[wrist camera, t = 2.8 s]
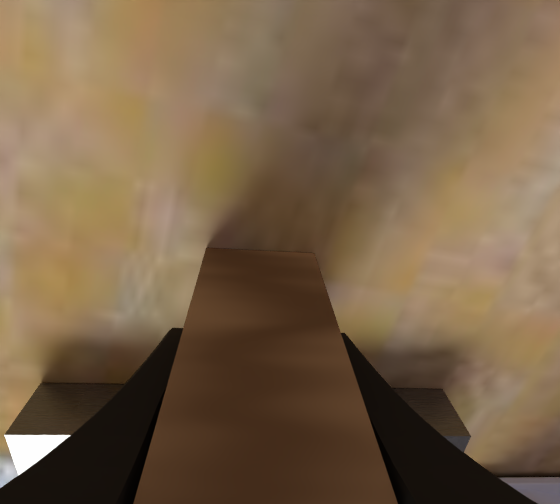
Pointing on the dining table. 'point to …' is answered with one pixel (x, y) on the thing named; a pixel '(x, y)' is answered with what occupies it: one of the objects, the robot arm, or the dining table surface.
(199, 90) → the dining table surface
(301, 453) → the peg
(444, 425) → the grey flat frame
